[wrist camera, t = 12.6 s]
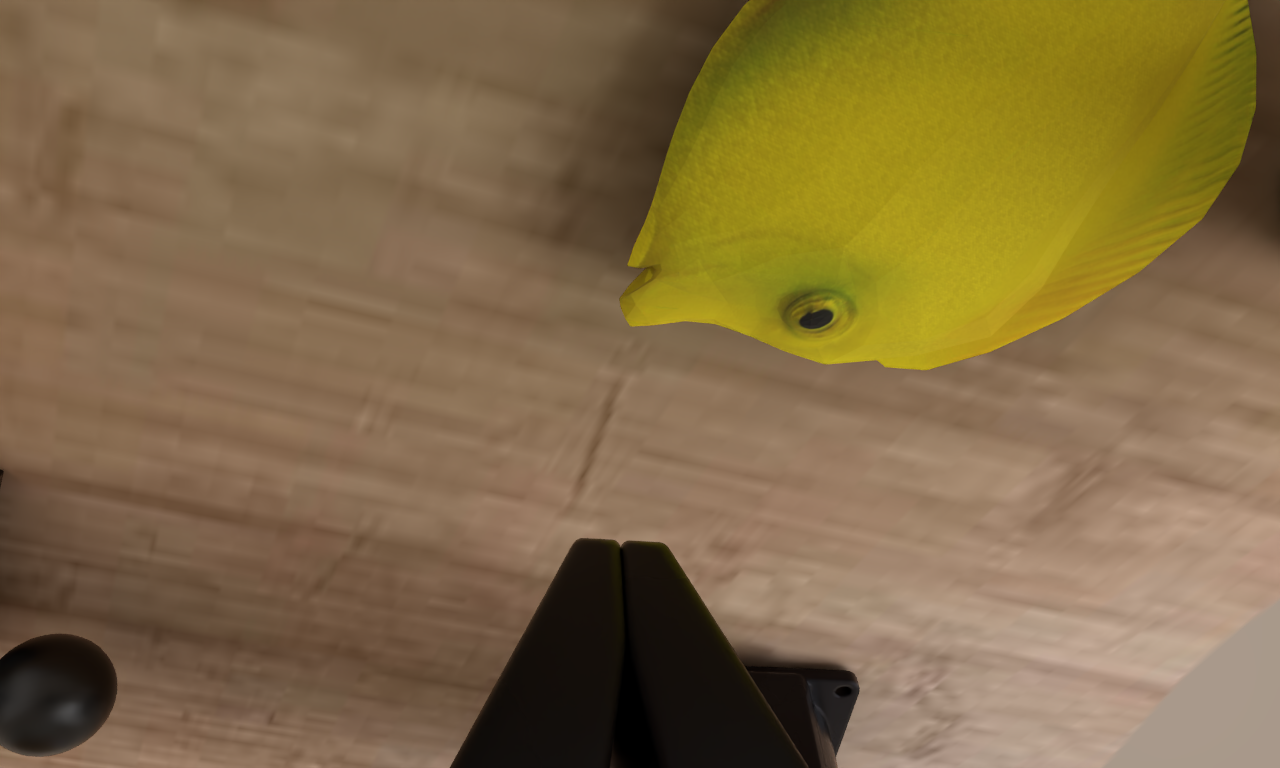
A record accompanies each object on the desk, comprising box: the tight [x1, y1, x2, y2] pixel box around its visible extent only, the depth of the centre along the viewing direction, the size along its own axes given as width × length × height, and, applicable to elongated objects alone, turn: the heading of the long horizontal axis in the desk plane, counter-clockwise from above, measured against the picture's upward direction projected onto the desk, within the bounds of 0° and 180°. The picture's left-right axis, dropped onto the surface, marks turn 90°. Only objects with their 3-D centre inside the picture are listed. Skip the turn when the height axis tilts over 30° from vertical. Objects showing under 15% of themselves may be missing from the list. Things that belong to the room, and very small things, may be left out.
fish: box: [619, 0, 1256, 370], centre depth 19 cm, size 3×16×10 cm
